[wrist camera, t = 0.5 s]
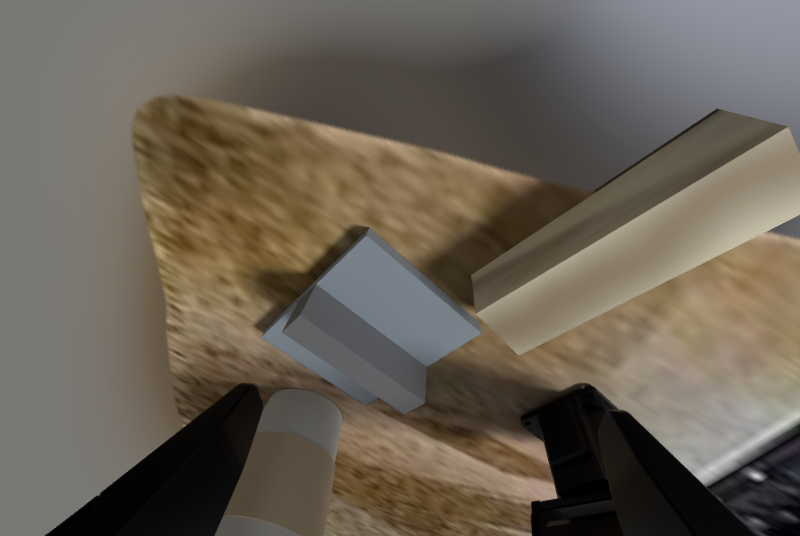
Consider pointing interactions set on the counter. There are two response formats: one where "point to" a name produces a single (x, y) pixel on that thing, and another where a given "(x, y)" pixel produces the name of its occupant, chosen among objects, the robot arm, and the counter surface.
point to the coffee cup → (287, 469)
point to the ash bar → (643, 228)
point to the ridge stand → (373, 325)
